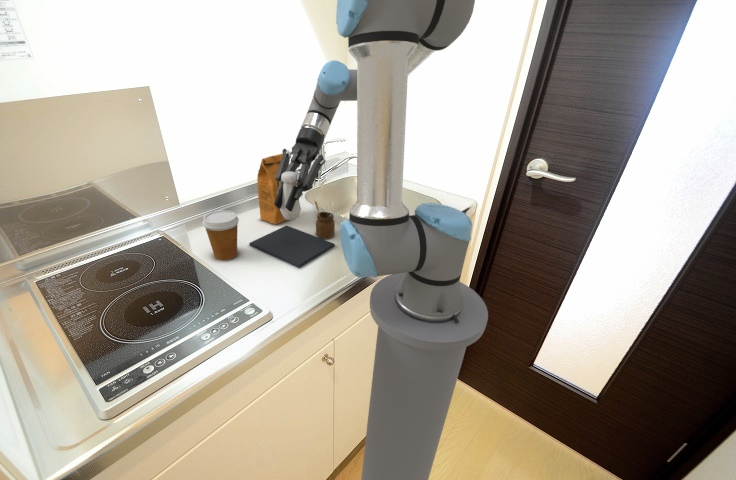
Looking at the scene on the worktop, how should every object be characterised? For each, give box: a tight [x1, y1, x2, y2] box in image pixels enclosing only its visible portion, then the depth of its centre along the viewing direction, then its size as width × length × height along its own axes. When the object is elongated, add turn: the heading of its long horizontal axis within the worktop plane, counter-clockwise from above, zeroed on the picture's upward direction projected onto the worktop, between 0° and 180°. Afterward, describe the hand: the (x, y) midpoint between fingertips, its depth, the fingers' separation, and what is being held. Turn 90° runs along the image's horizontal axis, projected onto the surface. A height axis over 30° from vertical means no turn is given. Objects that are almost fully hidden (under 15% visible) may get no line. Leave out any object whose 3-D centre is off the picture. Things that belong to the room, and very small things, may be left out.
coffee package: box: [256, 153, 297, 225], centre depth 121 cm, size 10×12×22 cm
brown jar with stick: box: [314, 200, 336, 240], centre depth 114 cm, size 6×6×12 cm
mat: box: [249, 224, 336, 269], centre depth 110 cm, size 20×16×1 cm
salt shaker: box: [280, 171, 302, 221], centre depth 102 cm, size 6×6×13 cm
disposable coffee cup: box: [201, 209, 240, 261], centre depth 102 cm, size 10×10×12 cm
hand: (282, 207), depth 100 cm, fingers closed on salt shaker, 3 cm apart
